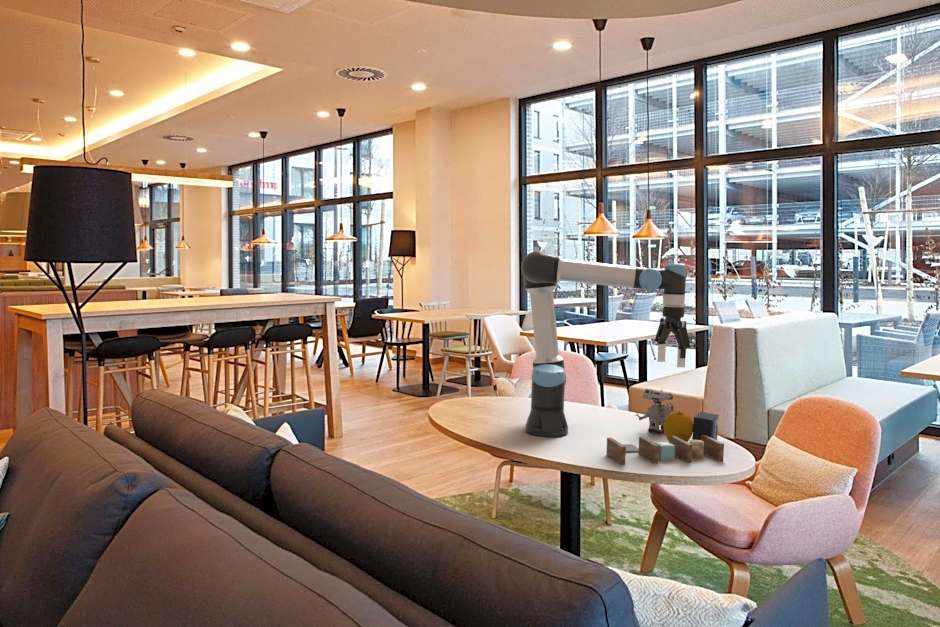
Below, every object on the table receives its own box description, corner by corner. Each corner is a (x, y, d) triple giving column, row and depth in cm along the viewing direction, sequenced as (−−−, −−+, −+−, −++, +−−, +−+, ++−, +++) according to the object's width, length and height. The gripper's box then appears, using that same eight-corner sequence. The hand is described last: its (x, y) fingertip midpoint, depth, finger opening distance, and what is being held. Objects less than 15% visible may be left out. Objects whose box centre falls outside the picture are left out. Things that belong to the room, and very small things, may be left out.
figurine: (649, 425, 259) (651, 386, 258) (675, 432, 250) (677, 391, 249) (634, 429, 253) (636, 388, 252) (661, 435, 244) (663, 393, 243)
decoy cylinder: (693, 459, 215) (693, 443, 215) (686, 455, 219) (686, 439, 219) (705, 458, 216) (706, 442, 216) (698, 454, 220) (699, 439, 220)
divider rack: (620, 464, 207) (621, 446, 206) (606, 454, 217) (607, 437, 217) (723, 460, 214) (724, 443, 213) (704, 451, 224) (705, 434, 224)
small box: (711, 451, 225) (712, 419, 224) (691, 447, 229) (692, 416, 228) (718, 444, 234) (719, 413, 233) (698, 441, 238) (699, 411, 237)
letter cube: (661, 460, 213) (661, 445, 212) (654, 456, 217) (654, 442, 217) (674, 459, 214) (675, 445, 213) (667, 455, 218) (668, 441, 218)
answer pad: (619, 452, 220) (619, 451, 220) (609, 446, 228) (609, 444, 228) (642, 452, 221) (642, 450, 221) (631, 445, 229) (631, 444, 229)
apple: (675, 449, 225) (676, 414, 224) (656, 442, 234) (657, 408, 233) (698, 447, 229) (700, 412, 228) (679, 440, 238) (680, 406, 237)
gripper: (702, 308, 237) (699, 369, 238) (665, 304, 261) (662, 359, 263) (683, 308, 235) (680, 369, 237) (647, 303, 259) (644, 359, 261)
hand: (670, 364), depth 250 cm, fingers open, 13 cm apart
